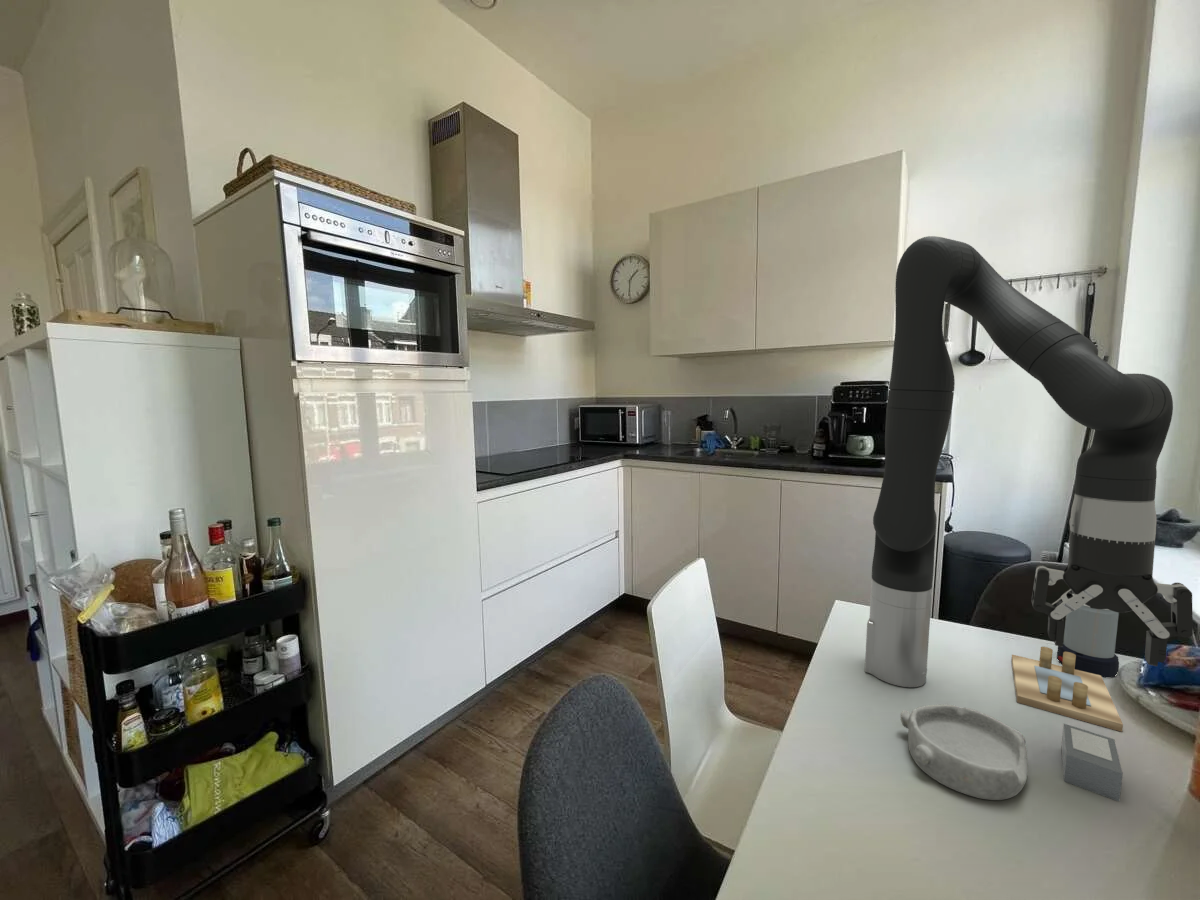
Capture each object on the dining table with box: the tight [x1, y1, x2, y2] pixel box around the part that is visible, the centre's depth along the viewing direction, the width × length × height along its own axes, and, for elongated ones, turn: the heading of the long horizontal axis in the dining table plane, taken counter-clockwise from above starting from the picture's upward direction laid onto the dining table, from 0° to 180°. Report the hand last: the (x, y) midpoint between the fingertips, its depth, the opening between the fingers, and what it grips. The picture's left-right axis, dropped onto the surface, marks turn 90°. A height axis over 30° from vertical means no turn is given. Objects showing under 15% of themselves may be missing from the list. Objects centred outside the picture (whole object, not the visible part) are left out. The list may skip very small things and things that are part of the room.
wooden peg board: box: [1010, 646, 1124, 733], centre depth 83 cm, size 16×12×5 cm
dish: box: [900, 704, 1029, 801], centre depth 67 cm, size 14×14×5 cm
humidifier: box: [1056, 594, 1120, 678], centre depth 90 cm, size 8×8×25 cm
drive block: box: [1060, 723, 1123, 802], centre depth 65 cm, size 5×8×4 cm, turn 139°
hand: (1102, 653), depth 64 cm, fingers open, 8 cm apart
